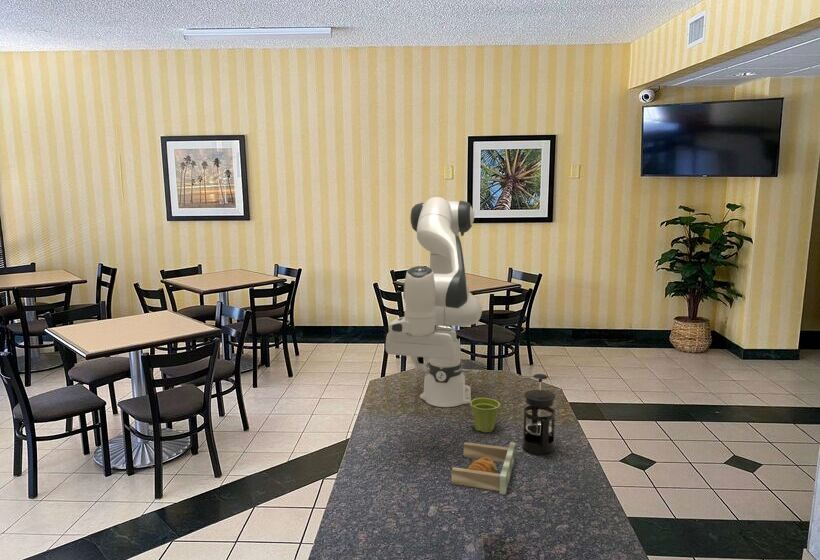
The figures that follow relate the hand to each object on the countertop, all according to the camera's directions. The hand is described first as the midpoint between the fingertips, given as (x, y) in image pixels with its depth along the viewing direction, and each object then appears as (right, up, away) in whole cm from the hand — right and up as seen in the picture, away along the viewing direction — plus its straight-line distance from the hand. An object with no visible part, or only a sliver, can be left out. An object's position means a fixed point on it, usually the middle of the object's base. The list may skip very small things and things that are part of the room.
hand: (420, 370), depth 171 cm
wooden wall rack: (+17, -27, -7) cm, 32 cm away
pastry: (+16, -28, -8) cm, 33 cm away
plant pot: (+21, -22, +21) cm, 37 cm away
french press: (+35, -25, +6) cm, 44 cm away
